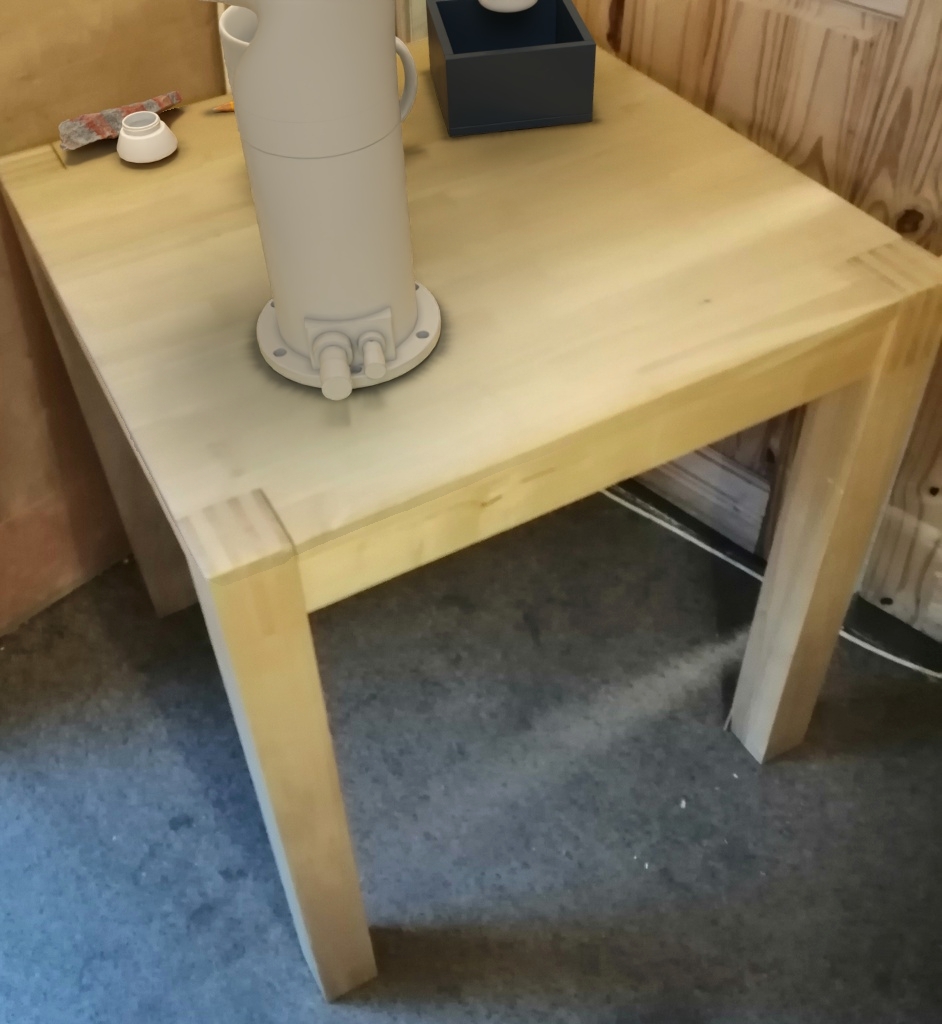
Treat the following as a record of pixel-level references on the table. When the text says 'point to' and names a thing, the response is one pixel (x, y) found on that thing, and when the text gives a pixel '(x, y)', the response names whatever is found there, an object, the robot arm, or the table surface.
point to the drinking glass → (507, 5)
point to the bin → (510, 65)
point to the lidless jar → (145, 138)
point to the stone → (109, 121)
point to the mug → (241, 29)
